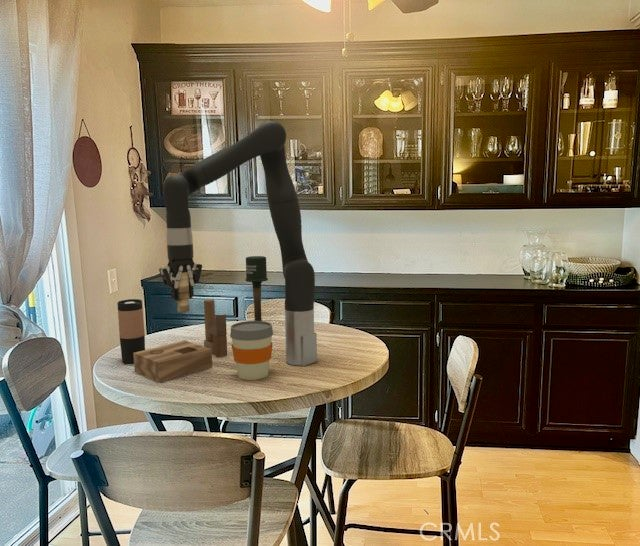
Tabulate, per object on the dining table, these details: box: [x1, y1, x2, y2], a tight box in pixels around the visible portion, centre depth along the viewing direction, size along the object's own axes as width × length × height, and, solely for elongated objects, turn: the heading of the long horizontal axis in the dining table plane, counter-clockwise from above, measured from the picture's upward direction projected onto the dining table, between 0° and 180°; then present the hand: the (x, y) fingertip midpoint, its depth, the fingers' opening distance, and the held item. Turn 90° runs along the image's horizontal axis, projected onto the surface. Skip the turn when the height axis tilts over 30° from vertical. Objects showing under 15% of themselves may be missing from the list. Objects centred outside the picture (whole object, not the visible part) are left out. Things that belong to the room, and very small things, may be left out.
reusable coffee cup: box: [229, 320, 274, 381], centre depth 152 cm, size 13×13×15 cm
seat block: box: [133, 340, 213, 384], centre depth 158 cm, size 15×18×6 cm
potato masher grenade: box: [245, 255, 269, 321], centre depth 198 cm, size 8×9×30 cm
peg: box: [175, 272, 191, 313], centre depth 156 cm, size 4×4×12 cm
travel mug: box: [116, 298, 146, 365], centre depth 166 cm, size 8×8×20 cm
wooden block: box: [203, 298, 228, 358], centre depth 174 cm, size 4×11×18 cm, turn 38°
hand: (183, 298), depth 156 cm, fingers closed on peg, 4 cm apart
